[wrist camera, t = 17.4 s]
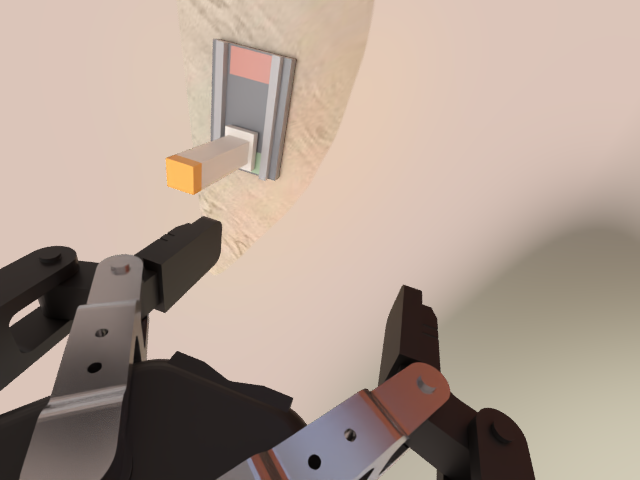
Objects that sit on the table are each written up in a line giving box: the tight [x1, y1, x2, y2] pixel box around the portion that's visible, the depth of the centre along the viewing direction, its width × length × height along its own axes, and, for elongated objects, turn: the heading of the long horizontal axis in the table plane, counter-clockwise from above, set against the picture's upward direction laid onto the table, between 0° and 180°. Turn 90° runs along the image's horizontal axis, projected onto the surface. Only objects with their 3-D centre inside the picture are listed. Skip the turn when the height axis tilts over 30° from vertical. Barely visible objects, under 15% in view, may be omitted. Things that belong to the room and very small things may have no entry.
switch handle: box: [166, 125, 258, 195], centre depth 37 cm, size 5×4×13 cm
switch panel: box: [211, 39, 296, 181], centre depth 41 cm, size 15×10×2 cm, turn 168°
